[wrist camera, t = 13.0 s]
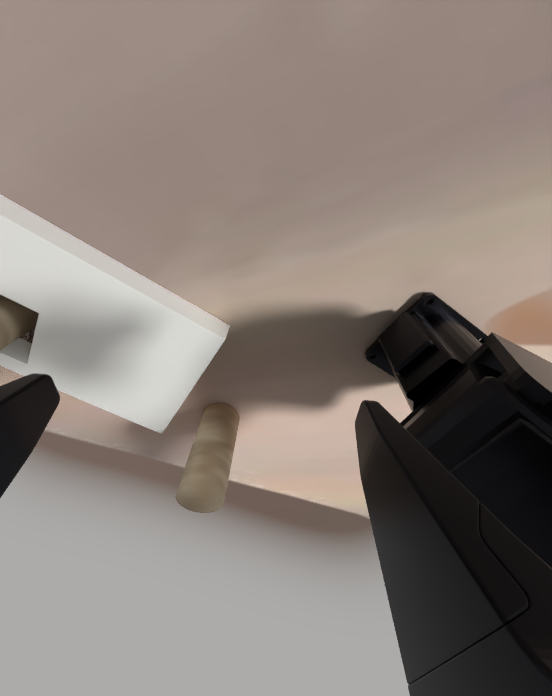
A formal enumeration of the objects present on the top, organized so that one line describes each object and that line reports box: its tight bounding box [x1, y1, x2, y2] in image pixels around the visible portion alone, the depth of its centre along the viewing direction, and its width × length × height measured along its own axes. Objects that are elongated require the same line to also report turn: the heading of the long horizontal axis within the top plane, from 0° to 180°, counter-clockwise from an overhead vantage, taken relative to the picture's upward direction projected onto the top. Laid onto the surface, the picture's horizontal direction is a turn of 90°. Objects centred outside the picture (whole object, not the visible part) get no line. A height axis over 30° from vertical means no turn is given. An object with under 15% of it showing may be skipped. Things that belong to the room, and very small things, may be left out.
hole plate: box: [0, 194, 230, 434], centre depth 22 cm, size 18×12×2 cm, turn 56°
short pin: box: [176, 403, 240, 513], centre depth 24 cm, size 3×3×8 cm
